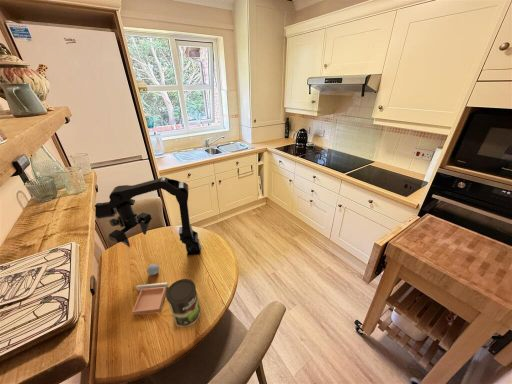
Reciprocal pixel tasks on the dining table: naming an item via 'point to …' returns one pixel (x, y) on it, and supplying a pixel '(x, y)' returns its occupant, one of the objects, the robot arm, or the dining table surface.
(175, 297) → the coffee can
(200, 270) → the dining table surface
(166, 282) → the wall
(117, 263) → the dining table surface
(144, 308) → the dish
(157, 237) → the dining table surface
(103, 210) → the robot arm
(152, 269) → the ball
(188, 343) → the dining table surface
